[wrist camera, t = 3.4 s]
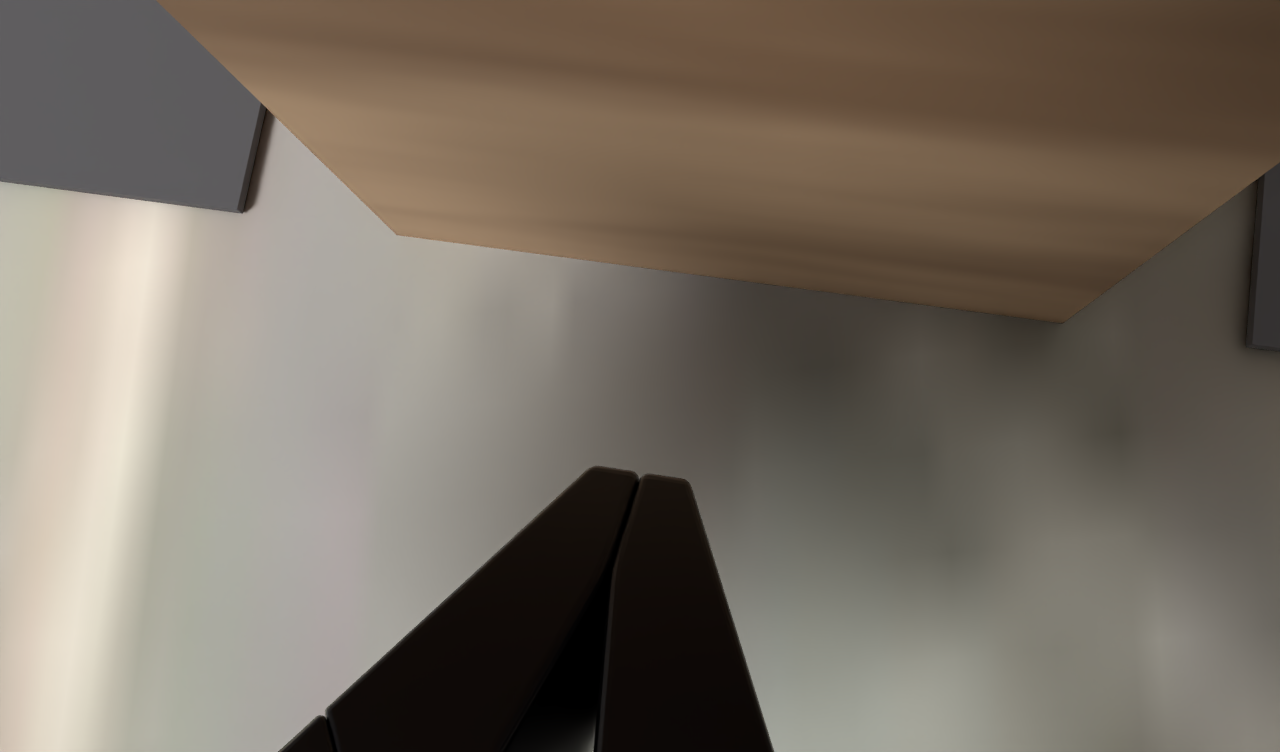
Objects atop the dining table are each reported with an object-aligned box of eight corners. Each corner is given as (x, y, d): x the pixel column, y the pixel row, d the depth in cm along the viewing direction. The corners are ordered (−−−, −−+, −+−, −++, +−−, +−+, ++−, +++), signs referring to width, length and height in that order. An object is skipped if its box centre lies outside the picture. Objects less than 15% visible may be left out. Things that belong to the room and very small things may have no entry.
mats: (1628, 398, 15) (1640, 395, 15) (-51, 174, 18) (-60, 169, 18) (1640, -134, 16) (1650, -142, 16) (67, -266, 19) (60, -275, 19)
